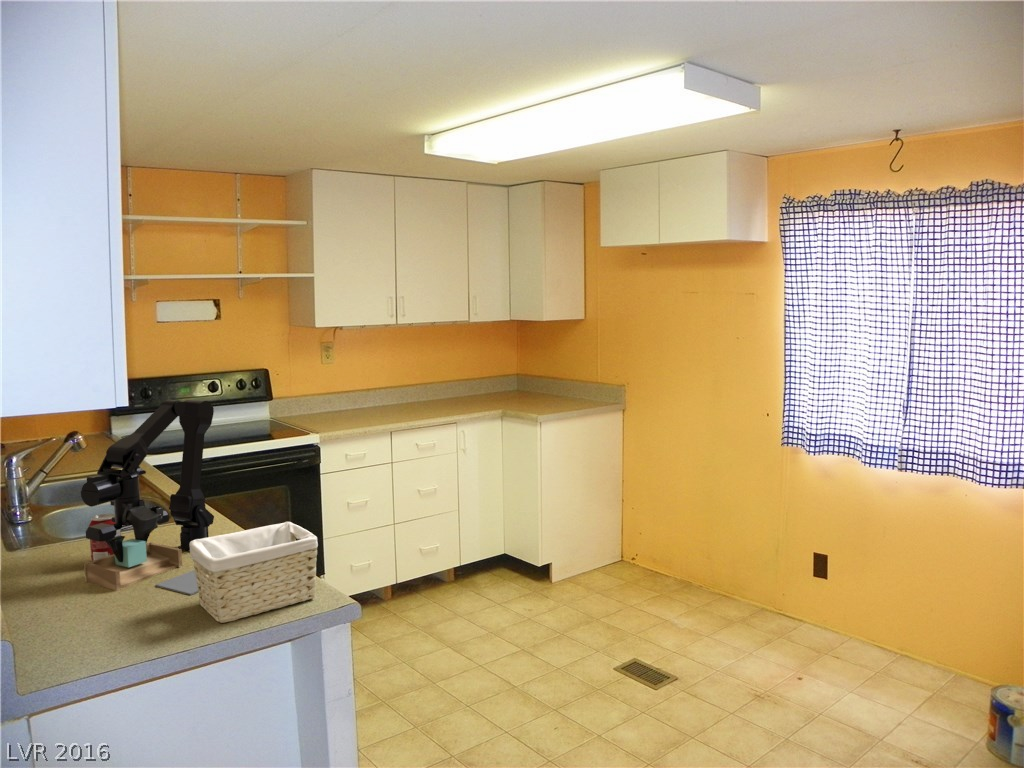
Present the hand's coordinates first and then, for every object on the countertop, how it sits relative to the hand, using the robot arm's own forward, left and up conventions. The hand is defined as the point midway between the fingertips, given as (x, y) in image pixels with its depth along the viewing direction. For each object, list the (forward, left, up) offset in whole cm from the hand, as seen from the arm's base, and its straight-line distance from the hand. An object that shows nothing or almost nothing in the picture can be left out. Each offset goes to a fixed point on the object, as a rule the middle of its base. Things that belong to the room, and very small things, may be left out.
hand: (130, 558), depth 195 cm
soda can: (-2, -12, -4) cm, 13 cm away
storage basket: (-1, +41, -4) cm, 41 cm away
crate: (0, +2, -4) cm, 4 cm away
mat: (-3, +19, -4) cm, 19 cm away
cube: (0, 0, -1) cm, 1 cm away
